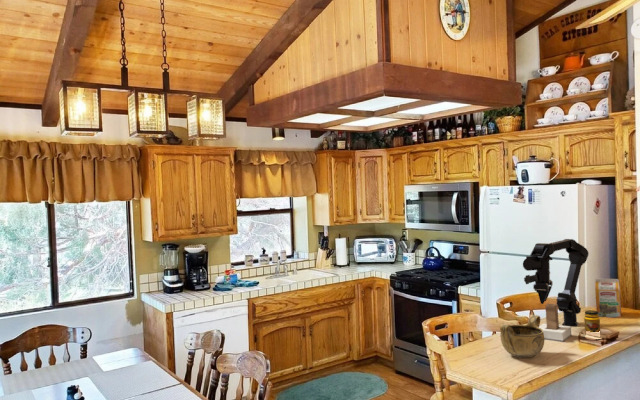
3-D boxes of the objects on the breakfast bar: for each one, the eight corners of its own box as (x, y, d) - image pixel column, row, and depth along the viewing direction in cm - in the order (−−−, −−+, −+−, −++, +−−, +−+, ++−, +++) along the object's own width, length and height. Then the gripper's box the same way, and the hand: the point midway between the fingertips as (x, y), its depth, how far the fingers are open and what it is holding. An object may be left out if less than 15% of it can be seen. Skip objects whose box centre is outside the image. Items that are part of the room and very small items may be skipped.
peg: (550, 333, 235) (548, 303, 235) (559, 334, 232) (557, 304, 232) (547, 335, 232) (545, 305, 232) (556, 337, 229) (554, 306, 229)
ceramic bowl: (522, 346, 221) (520, 311, 221) (558, 354, 207) (556, 317, 207) (488, 357, 209) (486, 320, 209) (524, 367, 195) (522, 328, 195)
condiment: (593, 341, 222) (591, 313, 222) (577, 336, 230) (576, 310, 230) (606, 338, 224) (604, 311, 224) (590, 334, 232) (589, 308, 232)
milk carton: (621, 313, 265) (619, 277, 265) (620, 318, 256) (618, 280, 256) (598, 312, 271) (596, 276, 271) (596, 317, 262) (594, 280, 262)
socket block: (544, 332, 240) (543, 323, 240) (571, 335, 232) (570, 326, 232) (535, 338, 231) (534, 329, 231) (563, 341, 223) (562, 332, 223)
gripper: (528, 267, 256) (528, 298, 255) (521, 270, 240) (522, 303, 239) (552, 268, 250) (552, 300, 249) (547, 271, 234) (547, 306, 233)
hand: (543, 302), depth 243 cm, fingers open, 9 cm apart
